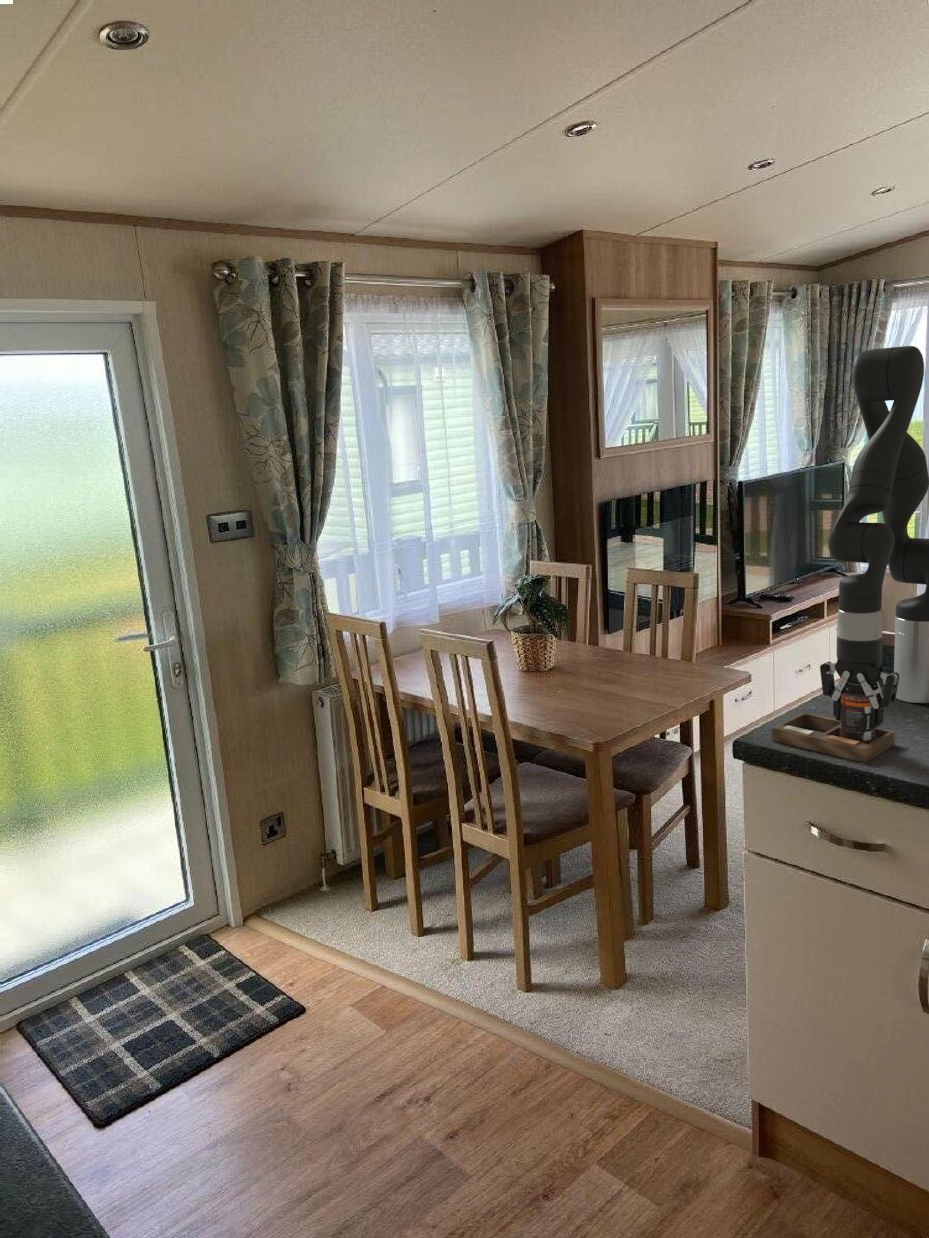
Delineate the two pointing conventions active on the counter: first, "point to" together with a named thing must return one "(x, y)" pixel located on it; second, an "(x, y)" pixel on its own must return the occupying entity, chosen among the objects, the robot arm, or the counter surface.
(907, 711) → the counter surface
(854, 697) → the supplement bottle
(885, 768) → the counter surface
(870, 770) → the counter surface
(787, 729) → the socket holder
